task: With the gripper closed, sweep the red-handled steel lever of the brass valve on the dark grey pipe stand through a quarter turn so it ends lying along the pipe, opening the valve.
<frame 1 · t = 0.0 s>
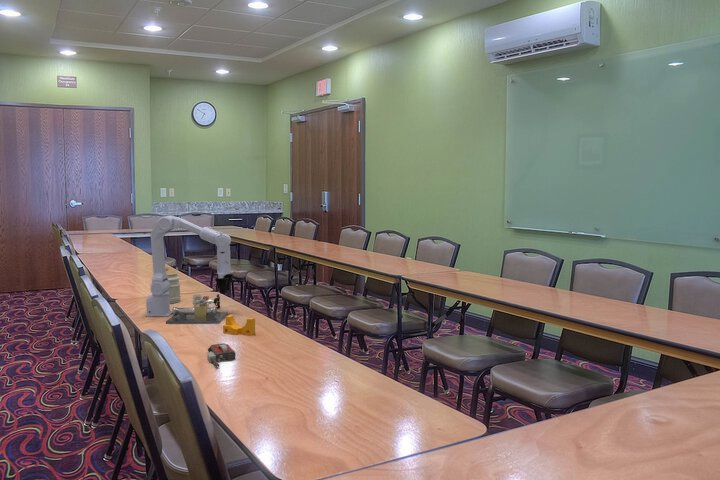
hand: (224, 292, 262), 10 cm above the table, tool pointing down, fingers open, 7 cm apart
valve: (206, 309, 275), on the table
jar: (166, 302, 290), on the table
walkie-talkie: (221, 360, 198), on the table
valve lever: (204, 300, 257), point 7 cm above the table, hinge at 90.0°
pipe clamp: (239, 334, 230), on the table
pipe stand: (202, 319, 254), on the table
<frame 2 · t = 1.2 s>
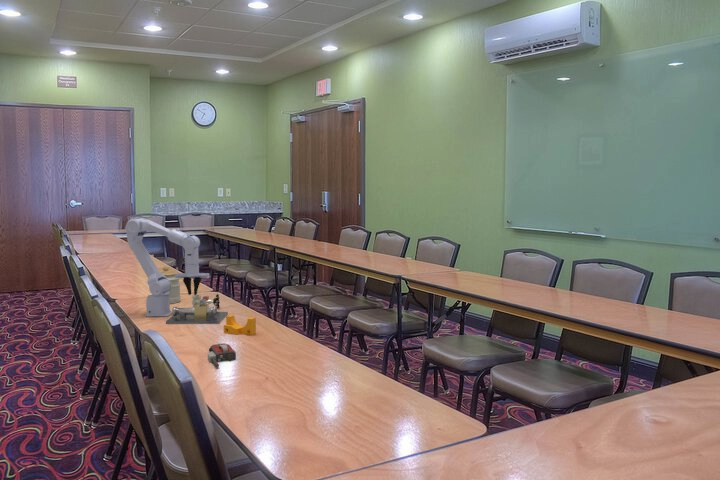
hand: (192, 294, 260), 9 cm above the table, tool pointing down, fingers closed
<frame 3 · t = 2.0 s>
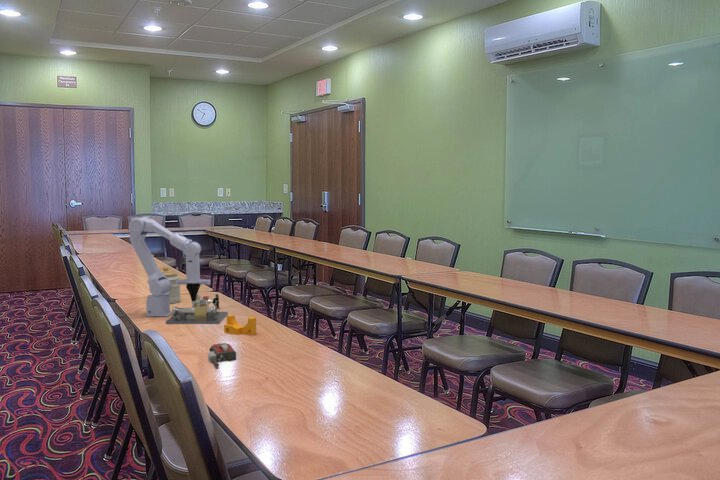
hand: (193, 300, 260), 7 cm above the table, tool pointing down, fingers closed
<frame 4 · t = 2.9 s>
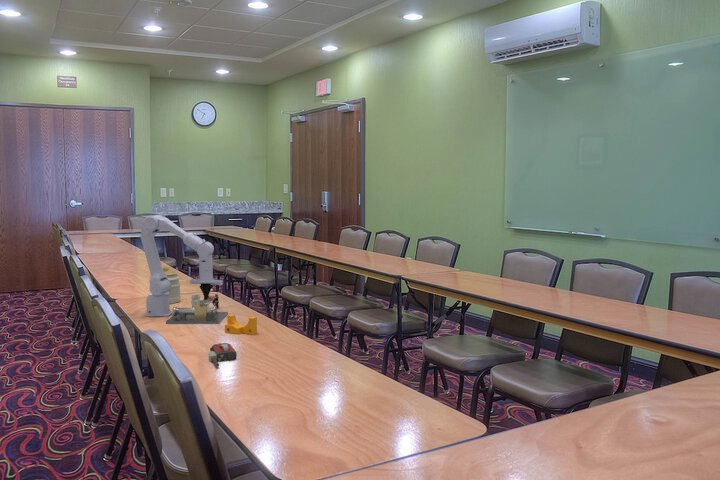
hand: (206, 300, 260), 7 cm above the table, tool pointing down, fingers closed, pressing on valve lever
valve lever: (207, 300, 257), point 7 cm above the table, hinge at 73.8°, touching gripper
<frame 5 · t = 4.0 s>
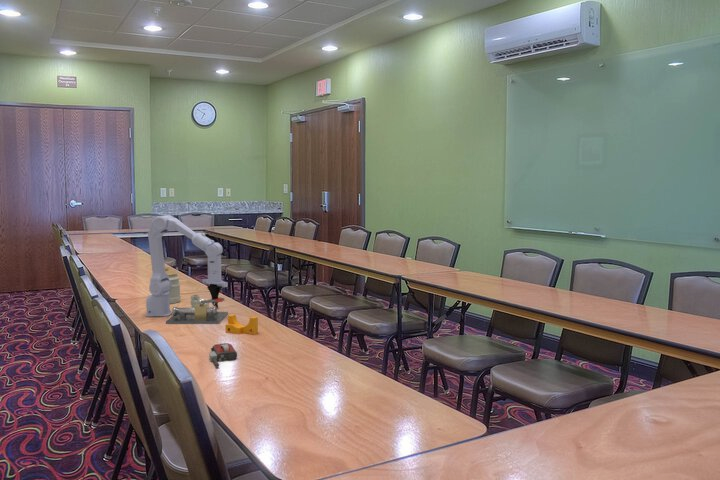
hand: (215, 301, 258), 7 cm above the table, tool pointing down, fingers closed, pressing on valve lever
valve lever: (211, 301, 256), point 7 cm above the table, hinge at 34.3°, touching gripper
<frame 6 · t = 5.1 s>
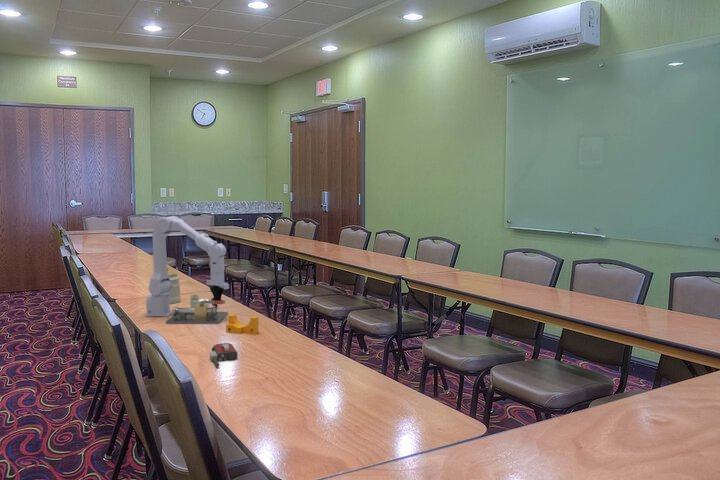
hand: (217, 303, 255), 6 cm above the table, tool pointing down, fingers closed, pressing on valve lever
valve lever: (212, 302, 253), point 7 cm above the table, hinge at -1.8°, touching gripper
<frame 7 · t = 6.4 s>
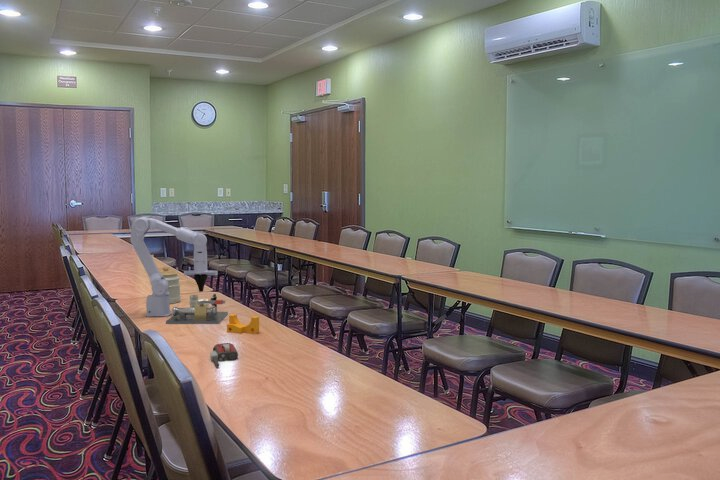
hand: (201, 291, 264), 10 cm above the table, tool pointing down, fingers closed
valve lever: (212, 302, 253), point 7 cm above the table, hinge at -1.7°
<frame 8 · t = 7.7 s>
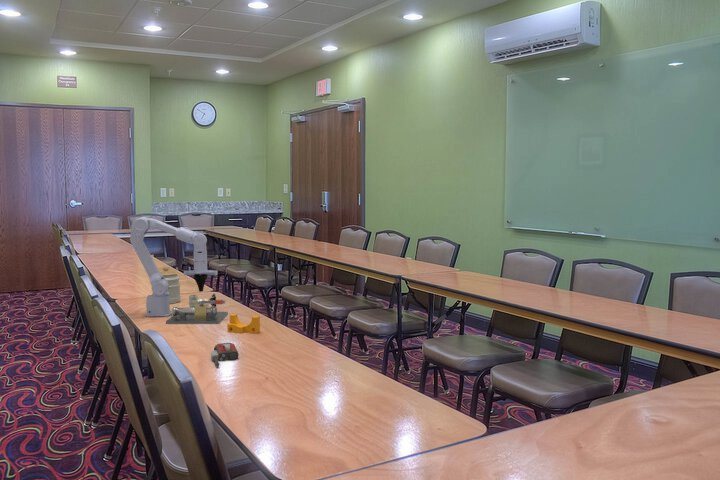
hand: (201, 291, 265), 10 cm above the table, tool pointing down, fingers closed
at the end: valve lever at -2° (first picture: +90°) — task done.
